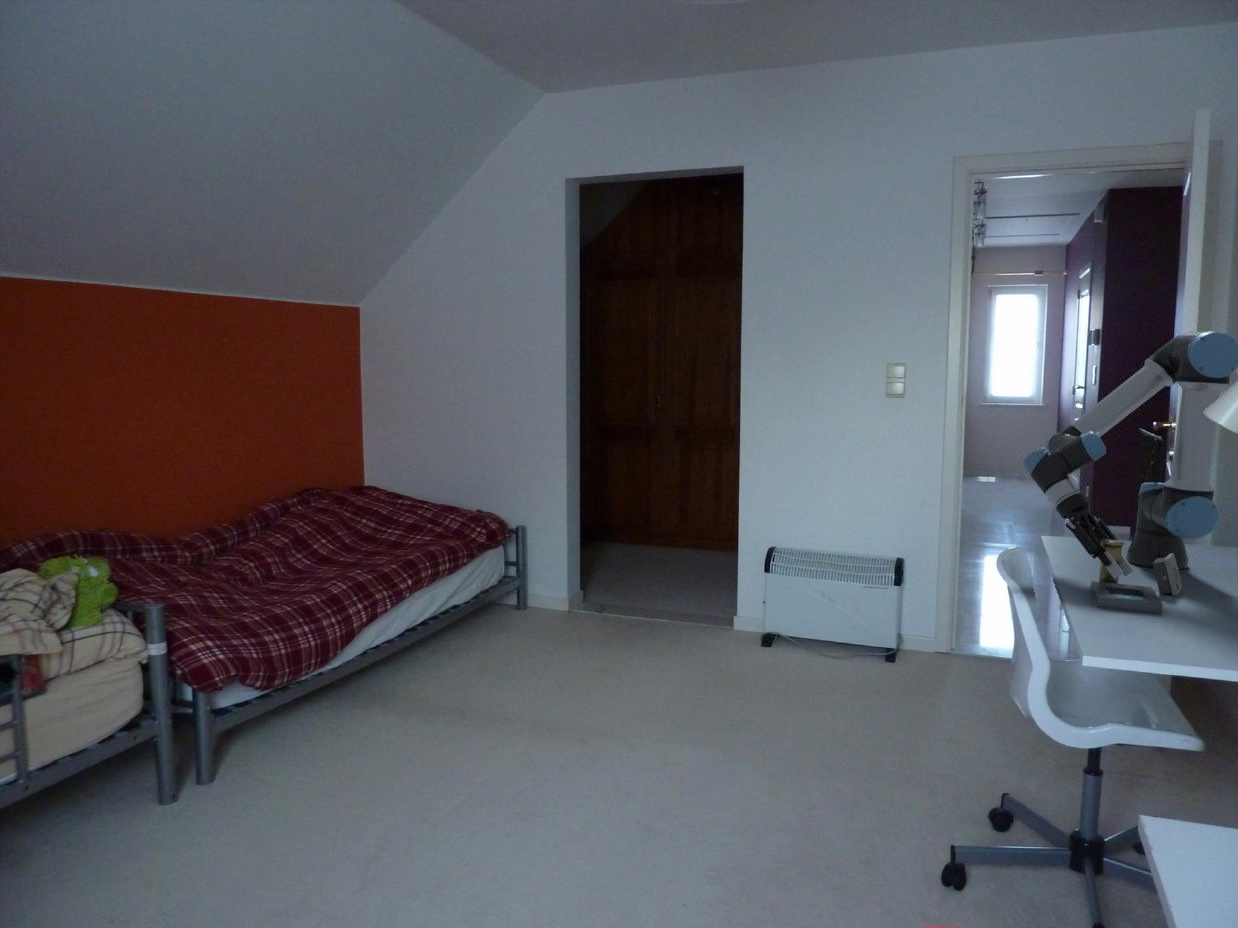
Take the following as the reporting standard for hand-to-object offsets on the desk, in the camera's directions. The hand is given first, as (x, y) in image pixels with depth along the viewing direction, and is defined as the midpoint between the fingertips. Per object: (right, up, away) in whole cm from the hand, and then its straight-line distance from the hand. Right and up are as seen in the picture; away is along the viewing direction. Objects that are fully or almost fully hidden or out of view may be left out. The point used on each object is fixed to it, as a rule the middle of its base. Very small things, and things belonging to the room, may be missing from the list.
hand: (1124, 574), depth 231 cm
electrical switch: (+9, -4, -3) cm, 10 cm away
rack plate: (-8, -5, -14) cm, 17 cm away
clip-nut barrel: (-2, -3, +4) cm, 5 cm away
